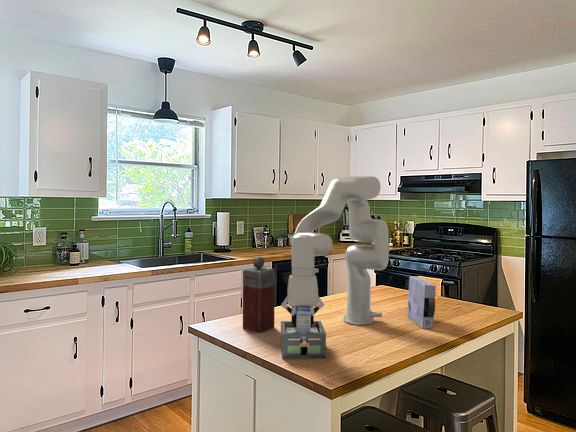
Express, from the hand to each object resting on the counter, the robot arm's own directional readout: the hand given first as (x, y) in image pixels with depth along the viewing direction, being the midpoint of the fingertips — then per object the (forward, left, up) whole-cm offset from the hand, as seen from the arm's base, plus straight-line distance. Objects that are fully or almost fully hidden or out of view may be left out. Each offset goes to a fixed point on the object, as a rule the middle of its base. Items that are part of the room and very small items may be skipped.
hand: (302, 325), depth 147 cm
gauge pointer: (0, +8, -4) cm, 9 cm away
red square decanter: (+16, -26, -9) cm, 32 cm away
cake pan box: (-51, -31, -9) cm, 60 cm away
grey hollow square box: (0, 0, -8) cm, 8 cm away
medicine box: (0, 0, -2) cm, 2 cm away
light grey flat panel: (0, +2, -3) cm, 4 cm away
